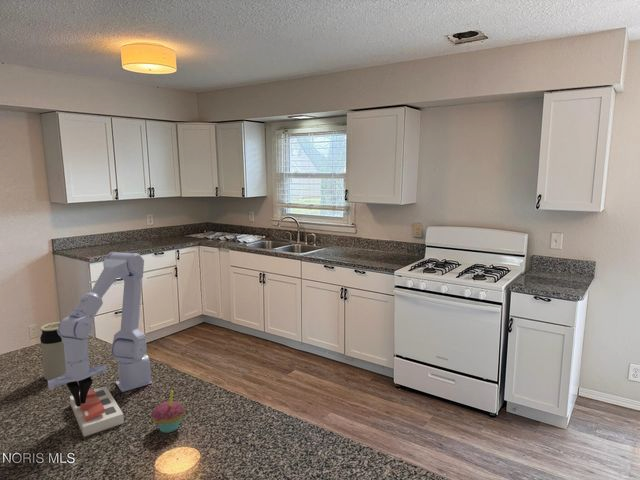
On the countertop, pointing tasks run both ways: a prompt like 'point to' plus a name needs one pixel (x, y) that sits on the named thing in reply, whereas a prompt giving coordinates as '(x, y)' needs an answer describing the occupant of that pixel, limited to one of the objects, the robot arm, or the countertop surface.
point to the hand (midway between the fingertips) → (80, 404)
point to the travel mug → (52, 351)
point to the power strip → (103, 421)
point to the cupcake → (168, 415)
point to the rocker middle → (90, 403)
